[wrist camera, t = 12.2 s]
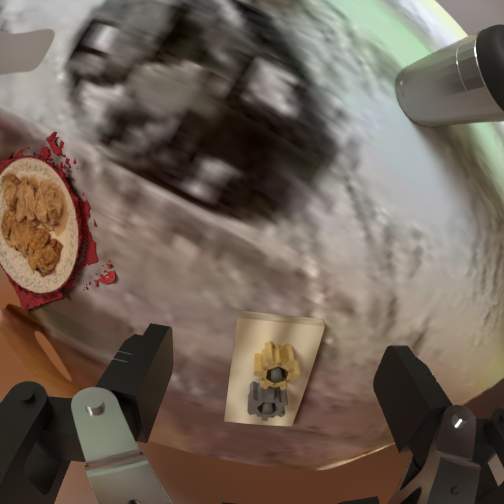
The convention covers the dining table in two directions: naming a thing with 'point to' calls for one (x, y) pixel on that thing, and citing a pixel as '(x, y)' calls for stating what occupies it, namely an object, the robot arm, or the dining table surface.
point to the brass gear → (276, 365)
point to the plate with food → (42, 227)
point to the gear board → (248, 386)
